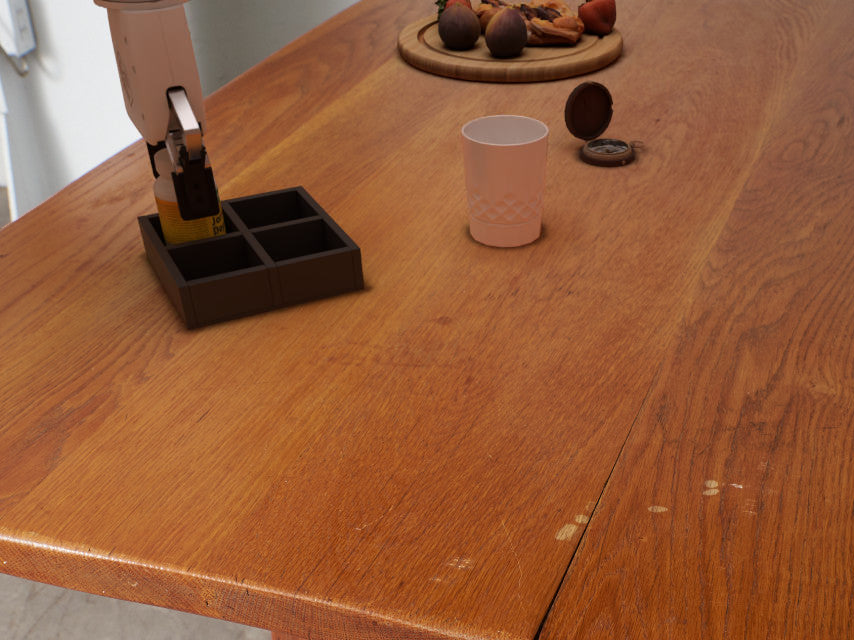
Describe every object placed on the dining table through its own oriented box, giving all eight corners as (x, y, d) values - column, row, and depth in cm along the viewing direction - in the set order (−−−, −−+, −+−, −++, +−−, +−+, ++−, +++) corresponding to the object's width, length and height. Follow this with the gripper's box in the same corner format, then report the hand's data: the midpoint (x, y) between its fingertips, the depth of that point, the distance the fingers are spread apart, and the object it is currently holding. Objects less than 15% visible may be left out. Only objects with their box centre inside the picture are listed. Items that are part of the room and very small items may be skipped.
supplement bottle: (172, 248, 93) (148, 144, 87) (231, 243, 94) (211, 139, 87) (168, 274, 89) (142, 167, 83) (230, 269, 89) (209, 162, 83)
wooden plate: (628, 26, 155) (633, -34, 149) (614, 91, 130) (619, 23, 125) (424, 18, 158) (421, -41, 153) (373, 80, 134) (368, 12, 129)
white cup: (517, 211, 101) (518, 109, 95) (562, 239, 96) (566, 133, 90) (449, 229, 98) (445, 124, 92) (492, 259, 93) (490, 151, 86)
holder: (188, 333, 82) (178, 287, 80) (147, 259, 93) (136, 216, 90) (365, 291, 88) (360, 247, 85) (307, 226, 98) (301, 185, 96)
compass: (600, 173, 109) (604, 104, 104) (560, 150, 114) (562, 83, 109) (659, 159, 112) (666, 91, 107) (618, 138, 117) (622, 72, 113)
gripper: (69, -40, 81) (121, 170, 92) (112, 9, 69) (166, 243, 80) (163, -49, 84) (203, 156, 95) (220, -3, 72) (258, 225, 83)
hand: (186, 196), depth 87 cm, fingers open, 9 cm apart
